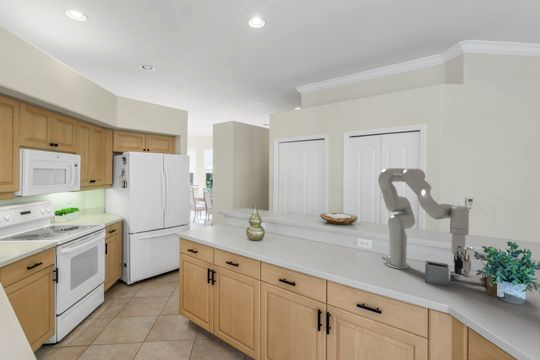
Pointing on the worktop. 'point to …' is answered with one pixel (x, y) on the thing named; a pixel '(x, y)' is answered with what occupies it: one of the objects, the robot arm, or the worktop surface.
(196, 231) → the worktop surface
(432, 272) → the sleeve
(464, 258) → the beer glass
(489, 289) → the socket
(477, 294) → the worktop surface
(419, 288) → the worktop surface
